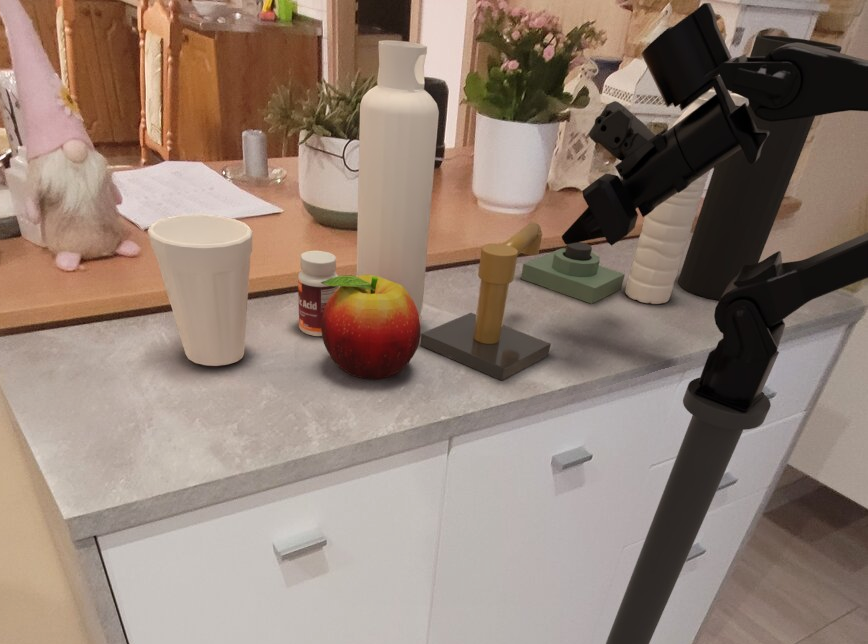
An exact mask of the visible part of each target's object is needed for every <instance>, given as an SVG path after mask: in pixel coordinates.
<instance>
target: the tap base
mask: <svg viewBox="0 0 868 644" xmlns="http://www.w3.org/2000/svg"><path fill="white" fill-rule="evenodd" d="M509 286H510V283H508V284H493V283H489V282H486V281H483V280H481V279H480V284H479V291H478V297H477V306H476V313H473V312H469V313H467V314H463V315H462V316H460V317H457V318H455V319H453V320H450V321H448V322H446V323H442V324H440V325H438V326H436V327H434V328H431V329H428V330H427V331H424V332H421V333H420V343H419V345H420V346H421V347H423V348H425V349H428V350H429V351H433V352H435V353H436V354H439V355H442V356H444V357H446V358H449V359H451V360H453V361H455V362H457V363H460V364H462V365H465V366H467V367H469V368H472V369H474V370H476V371H478V372H481V373H483V374H486V375H488V376H490V377H493V378H495V379H497V380H499V381H505V380H507V379H508V378H509V377H512V376H513V375H515V374H517V373H519V372H521V371H523V370H524V369H526V368H528V367H530V366H532V365H533V364H535V363H537V362H539V361H541V360H543V359H545V358H546V357H549V355H550V350H551V344H552V343H550V342H548V341H545V340H542V339H540V338H537V337H535V336H532V335H530V334H527V333H525V332H522V331H519V330H516V329H514V328H512V327H509V326H506V325H503V324H504V317H505V311H506V305H507V299H508V293H509V288H510V287H509Z"/></svg>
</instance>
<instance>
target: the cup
mask: <svg viewBox="0 0 868 644" xmlns="http://www.w3.org/2000/svg"><path fill="white" fill-rule="evenodd" d="M253 233H254V231H253V230H252V229H251V228H250V226H248V224H247V223H245V222H243V221H240V220H238V219H235V218H231V217H227V216H222V215H216V214H215V215H214V214H201V213H195V214H179V215H173V216H169V217H168V216H167V217H163V218H160V219H158V220H156V221H154V222H152V223H151V225H150V226H149V228H148V229H147V234H148V238H149V242H150V246H151V249H152V252H153V253H154V255H155V257H156V261H157V265H158V268H159V270H160V271H159V272H160V274H161V277H162V281H163V284H164V287H165V291H166V294H167V298H168V300H169V303H170V307H171V310H172V313H173V317H174V321H175V324H176V326H177V331H178V333H179V337H180V340H181V344H182V347H183V351H184V353H185V356H186V357H187V360H190V361H191V362H193V363H194V364H198V365H201V366H212V367H213V366H214V367H219V366H227V365H230V364H233V363H237V362H239V361H240V360H241V359H242V358H244V355H245V349H246V348H245V347H246V346H245V345H246V331H247V317H248V299H249V284H250V269H251V256H252V252H253V238H254V236H253V235H254V234H253Z"/></svg>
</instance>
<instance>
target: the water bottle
mask: <svg viewBox="0 0 868 644" xmlns="http://www.w3.org/2000/svg"><path fill="white" fill-rule="evenodd" d="M715 94H716V92H715V90H714V89H713V88H712V89H711V90H709V91H708V92H707V93H705V94H704V95H703V96H701V97H700V98H699V99H698V100H696V101H695V102H694V103H692V104H691V105H689V106H688V107H687V108H686V109H685V111H684V112H682V114H681V115H680V116H679V117H678V118H677V119H676V120H675V121H674V123H673V124H672V125H671V127H670V128H672V127H673V126H674V125H676V124H677V123H678V122H680V121H681V120H682V119H684V118H685V117H686V116H688V115H689V114H690V113H692V112H693V111H694V110H696V109H697V108H698V107H700V106H701V105H702V104H703V103H705V102H706V101H707V100H709V99H710V98H711V97H713V96H714V95H715ZM729 94H730V96H731V98H732V100H733V102H734V103H735V105H736V106H741V105H743V104H744V103H746V105H747V106H748V105H749V100H748V99H747V98H745V97H743V96H740V95H738V94H736V93H733V92H731V93H729ZM710 172H711V170H709V171H708V172H707V173H705V174H704V175H702V176H701V177H699V178H698V179H696V180H695V181H693V182H692V183H691V184H690V185H689V186H688V187H687V188H685V189H684V190H682V191H681V192H679V193H678V192H677V193H676V194H674V195H673V196H672V197H670V198H669V199H667V200H666V201H664V202H663V203H661V204H660V205H658V206H657V207H656V208H655V209H654V210H653V211H652V212H650V213H649V214H647V215H646V216H644V220H643V223H642V227H641V232H640V233H639V238H638V241H637V247H636V249H635V252H634V259H633V261H632V263H631V267H630V270H629V275H628V277H627V281H626V285H625V288H624V293H625V295H626V296H628V298H630V299H632V300H634V301H636V300H637V301H638V302H639V303H643V304H651V305H660V304H665V303H668V302H669V300H670V299H671V297H672V296H671V295H672V293H673V289H674V285H675V281H676V279H677V277H678V273H679V267H680V265H681V264H682V261H683V258H684V253H685V250H686V247H687V244H688V239H689V238H690V235H691V232H692V229H693V223H694V221H695V219H696V217H697V213H698V211H699V206H700V202H701V200H702V196H703V194H704V189H705V188H706V182H707V181H708V178H709V177H708V175H709V174H710Z"/></svg>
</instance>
